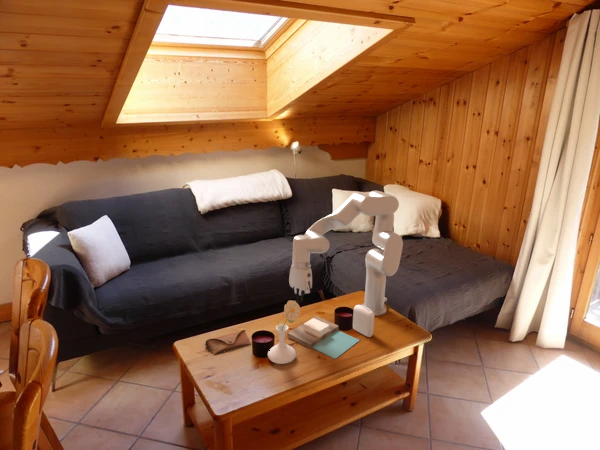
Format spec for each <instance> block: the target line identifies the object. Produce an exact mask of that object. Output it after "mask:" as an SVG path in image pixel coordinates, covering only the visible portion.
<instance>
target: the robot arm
mask: <svg viewBox="0 0 600 450" xmlns="http://www.w3.org/2000/svg"><path fill="white" fill-rule="evenodd" d="M399 206H400V203H399V200H398V198H397V197H396V196H394V195H392V194H389V193H387V192H383V191H380V190H372V191H370V192H369V193H368V194H365V193H363V192H360V191H359V192H358V191H357V192H354V193H352V194H351V195H350V196H349V197H348V198H347V199H345V201H344V202H343V203H342V204H341V205H340V206H338V208H337V209H336V210H335V211H334V212H333V213H331V214H328V215H326V216H325V217H322V218H321V219H319V220H317V221H316V222H314V223H313V224H312V225H311V226H310V227H309V228H308V229H307V230H306V232H305V233H304V235H303V234H299V235H295V236H294V237H293V241H292V260H291V261H292V264H291V266H290V269H289V278H288V282H289V286H290V288H291V289H293V292H294V294H295V301H296V303H297V304H300V303H302V302H303V301H304V295H305V294H310V293H311V289H312V288H313V274H312V273H313V272H312V268H311V267H312V264H311V263H310V260H311V254H324V253H326V252H328V250H329V248H330V242H329V239H328V238H326V236H324V235H325V234H326V233H327V232H330V231H331V230H335V229H344V228H347V227H348V226H349V225H350V224H351V223H352V222H353V221H354V220H355V219H357V217H358V216H360V214H362V215H364V216H367V217H368V216H369V217H370V216H371V217H373V216H374V217H375V220H374V226H373V227H374V229H373V231H372V240H371V241H372V243H373V245H374V246H376V247H377V248H371V249H370V250H368V251H367V253H366V255H365V270H366V274H365V275H366V276H365V289H364V291H365V292H364V302H363V303H361V305H362V306H365V307H367V308H369V309H370V310H371V311H372V312H373V313H374V317H375V316H376V317H377V316H382V315H385V314H386V313H387V307H386V306H385V302H387V300H388V297H385V294H386V293H385V292H386V283H387V277H391V276H393V275H396V273H397V272H398V269H399V266H400V262H401V257H402V252H403V247H404V242H403V238H402V237H401V235H400V234H398V233H397V232H394V223H395V213H396V212H397V211H398V208H399Z"/></svg>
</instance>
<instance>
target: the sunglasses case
mask: <svg viewBox="0 0 600 450" xmlns="http://www.w3.org/2000/svg"><path fill="white" fill-rule="evenodd" d="M246 345H247V346H250V345H252V343H251V341H250V339H249V337H248V335H247V332H246V329H243V330H239V331H236V332H232V333H228V334H224V335H222V336H216V337H214V338H213V337H212V338H209V339H207V340H206V341H205V347H206V346H207V347H206V348H207V350H208V349H209V350H208V352H211V353H210V354H211V355H212V354H213V355H212V356H216V355H219V354H221V352H222V353H224V351H225V352H228V351H232V350H235V349H238V348H241V347H247V346H246ZM231 349H232V350H231ZM227 350H228V351H227Z"/></svg>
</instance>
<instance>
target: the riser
mask: <svg viewBox="0 0 600 450" xmlns="http://www.w3.org/2000/svg"><path fill="white" fill-rule="evenodd" d="M313 318H315V319H317V320H319V321H321V322H324V323H326V324H328V325H329V332H327V333H326V334H324V335H323V336H321V337H317V336H315V335H313V334H311V333H309V332H307V331H304V330H303V324H304V323H306V322H308V321H309V320H311V319H313ZM309 320H307V321H305V322H303V323H302V324H300V325H299V326H297V327H296V328H293V329H291V330H290V331H288V332H287V338H289V339H291V340H293V341H295V342H297V343H299V344H301V345H303V346H305V347H307V348H308V349H313V348H312V347H313V346H314V345H316V344H317V343H319V342H320V341H322V340H323V339H325V338H326V337H328V336H329V335H331V334H332V333H334V332H335V331H336V330H338V331H340V329H339V325H338V324H335V323H333V322H331V321H329V320H327V319H324V318H322V317H320V316H318V315H316V316H314V317H312V318H310V319H309Z"/></svg>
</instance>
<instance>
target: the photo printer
mask: <svg viewBox="0 0 600 450" xmlns="http://www.w3.org/2000/svg"><path fill="white" fill-rule="evenodd" d="M352 311H353V314H352V329H353V330H355V331H356V332H358V333H359V334H361V335H363V336H366V337H368V338H370V337H372V336H373V335H374V329H375V327H374V326H375V325H374V324H375V316H374V313H373V312H372V311H371V310H370V309H369V308H367V307H365V306H362V304H356V305H355V306H354V307H353V310H352Z"/></svg>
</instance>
